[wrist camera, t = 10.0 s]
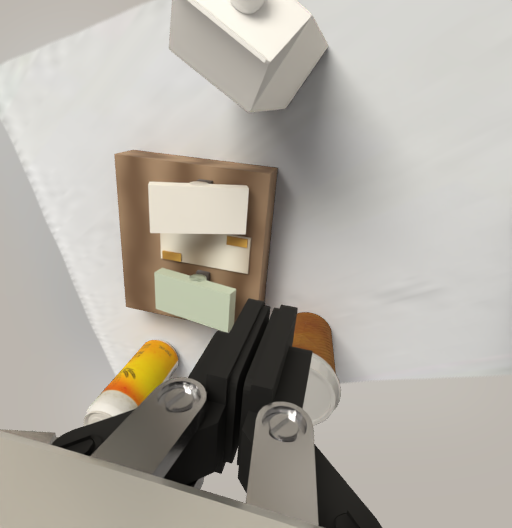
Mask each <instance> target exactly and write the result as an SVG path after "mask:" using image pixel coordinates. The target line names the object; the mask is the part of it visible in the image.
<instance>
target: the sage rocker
mask: <svg viewBox="0 0 512 528" xmlns="http://www.w3.org/2000/svg"><path fill="white" fill-rule="evenodd" d="M154 276H155V302H156V309H158V310H161V311H164V312H167V313H170V314H173V315H176V316H179V317H182V318H185V319H188V320H191V321H194V322H197V323H200V324H202V325H205V326H208V327H211V328H214V329H217V330H220V331H223V332H227V333H228V332H229V331H230V330H231V329H232V327H233V325H234V317H235V301H236V289H235V288H231V287H228V286H224V285H221V284H217V283H214V282H210V281H207V280H206V276H204V275H202V274H194V275H191V276H190V275H186V274H183V273H179V272H176V271H172V270H169V269H165V268H161V269H159V270H157V271H156V272H154Z"/></svg>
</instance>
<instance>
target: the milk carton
mask: <svg viewBox="0 0 512 528" xmlns="http://www.w3.org/2000/svg"><path fill="white" fill-rule="evenodd" d="M327 48H328V44H327V42H326V40H325V38H324V36H323V34H322V32H321V30H320V29H319V27H318V25H317V23H316V21H315V19H314V17H313V16H312V14H311V13H310V12H309V11H308V10H307V9H306V8H305V7H303V6H302V5H301V4H300V3H299V2H298V1H296V0H172V9H171V23H170V38H169V49H170V50H171V51H172V52H173V53H174V54H175V55H177V56H178V57H179V58H180V59H182V60H183V61H184V62H185V63H187V64H188V65H189V66H190V67H192V68H193V69H194V70H195V71H197V72H198V73H199V74H200V75H202V76H203V77H204V78H205V79H207V80H208V81H209V82H210V83H212V84H213V85H214V86H215V87H217V88H218V89H219V90H220V91H222V92H223V93H224V94H225V95H227V96H228V97H229V98H230V99H232V100H233V101H234V102H235V103H237V104H238V105H239V106H240V107H242V108H243V109H244V110H246V111H247V112H248V113H251V112H261V111H270V110H279V109H286V108H287V106H288V105H289V103H290V102H291V100H292V99H293V97H294V96H295V94H296V93H297V91H298V90H299V89H300V87H301V86H302V84H303V83H304V81H305V80H306V78H307V77H308V75H309V74H310V72H311V71H312V70H313V68H314V67H315V65H316V64H317V62H318V61H319V59H320V58H321V56H322V55H323V53H324V52H325V50H326V49H327Z"/></svg>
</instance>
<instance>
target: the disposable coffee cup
mask: <svg viewBox="0 0 512 528" xmlns="http://www.w3.org/2000/svg"><path fill="white" fill-rule="evenodd" d="M292 347H297V348H302V349H306V350H311V351H313V353H312V359H311V365H310V370H309V376H308V382H307V387H306V393H305V398H304V404H303V410H304V411H305V412H307V413H308V415H309V416H310V418H311V420H312V423H313V426H314V425H317V424H319V423H321V422H323V421H325V420H326V419H327V418H328V417H329V416H330V415H331V413H332V412H333V411H334V409H335V408H336V407H337V405H338V403H339V401H340V397H341V387H340V382H339V380H338V377H337V375H336V372H335V362H334V352H333V344H332V333H331V329H330V326H329V324H328V323H327V322H326V321H325V320H324V319H323V318H322V317H320V316H318V315H316V314H313V313H309V312H302V313H298V314H297V317H296V324H295V331H294V337H293V344H292Z"/></svg>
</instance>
